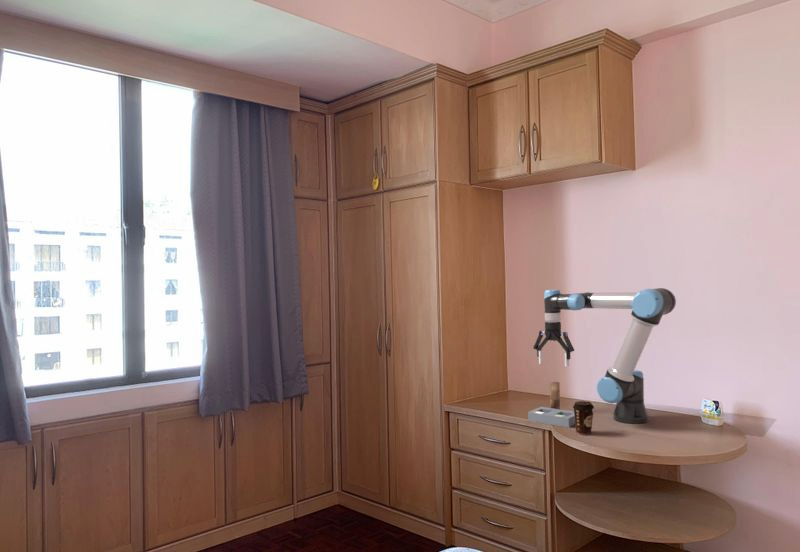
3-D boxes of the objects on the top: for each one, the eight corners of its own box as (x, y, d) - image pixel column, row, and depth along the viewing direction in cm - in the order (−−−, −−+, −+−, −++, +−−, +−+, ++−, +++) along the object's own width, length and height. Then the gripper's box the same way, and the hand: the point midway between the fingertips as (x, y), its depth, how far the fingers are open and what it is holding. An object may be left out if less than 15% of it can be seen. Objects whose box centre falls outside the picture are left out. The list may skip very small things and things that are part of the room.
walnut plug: (561, 413, 281) (561, 382, 281) (557, 415, 278) (556, 384, 278) (553, 411, 284) (552, 381, 284) (548, 413, 281) (547, 383, 281)
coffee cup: (596, 431, 248) (596, 401, 248) (592, 436, 241) (591, 405, 241) (576, 429, 252) (575, 399, 252) (571, 434, 245) (570, 403, 245)
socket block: (541, 414, 279) (541, 406, 279) (581, 421, 266) (580, 412, 266) (528, 420, 269) (528, 411, 269) (568, 427, 256) (568, 418, 256)
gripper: (580, 321, 275) (581, 366, 276) (533, 319, 292) (534, 361, 292) (573, 323, 270) (574, 368, 270) (525, 321, 286) (526, 363, 286)
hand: (553, 365), depth 281 cm, fingers open, 13 cm apart
